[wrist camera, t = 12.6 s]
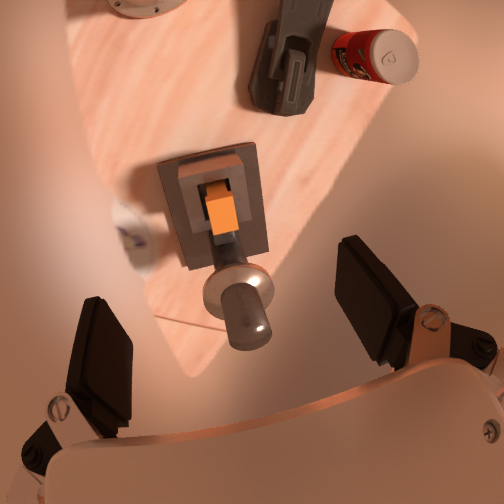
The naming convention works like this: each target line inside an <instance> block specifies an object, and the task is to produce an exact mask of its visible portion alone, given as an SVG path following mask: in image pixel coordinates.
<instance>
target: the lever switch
mask: <svg viewBox="0 0 504 504" xmlns="http://www.w3.org/2000/svg"><path fill="white" fill-rule="evenodd" d="M157 167H158V170H159V174H160V178H161V181H162V185H163V188H164V192H165V195H166V199H167V202H168V205H169V209H170V212H171V215H172V219H173V222H174V225H175V228H176V231H177V235H178V238H179V241H180V244H181V247H182V250H183V253H184V256H185V259H186V262H187V265H188V268H189V271H190V270H194V269H198V268H202V267H207V266H211V265H214V269H215V272H214V273H212V274H211V275H210V276H209V278H208V279H207V280H206V282H205V284H204V287H203V301H204V305H205V307H206V309H207V311H208V312H209V313H210V314H211V315H213V316H214V317H216V318H218V319H221V320H225V325H226V329H227V334H228V339H229V343H230V345H231V346H232V347H233V348H234V349H237V350H240V351H250V350H255V349H258V348H260V347H262V346H264V345H265V344H266V343H267V342H269V340H270V339H271V337H272V330H271V328H270V325H269V322H268V319H267V316H266V313H265V309H266V308H267V307H268V305H269V304H270V303H271V301H272V299H273V296H274V285H273V282H272V280H271V277H270V275H269V274H268V272H267V271H266V270H265V269H263V268H262V267H260V266H258V265H256V264H252V263H248V261H247V258H246V257H249V256H253V255H257V254H261V253H265V252H269V248H268V239H267V231H266V222H265V214H264V206H263V197H262V189H261V181H260V174H259V166H258V158H257V150H256V144H255V143H254V142H251V143H246V144H240V145H235V146H230V147H225V148H220V149H215V150H211V151H206V152H202V153H197V154H193V155H189V156H185V157H180V158H176V159H173V160H169V161H165V162H161V163H158V165H157ZM221 179H223V180H224V183H225V185H226V188H227V191H231V192H232V195H233V200H234V205H235V211H236V216H237V222H238V227H239V230H235V231H230V232H226V233H222V234H217V235H214V234H213V230H212V226H211V222H210V218H209V213H208V209H207V205H206V200H205V197H206V196H207V191H206V186H205V183H207V182H212V181H216V180H221Z"/></svg>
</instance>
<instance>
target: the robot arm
mask: <svg viewBox="0 0 504 504" xmlns="http://www.w3.org/2000/svg"><path fill="white" fill-rule="evenodd" d="M107 1H108V2H109V4H110V5H111V6H112V7H113V8H114V9H115V10H116V11H117V12H119V13H121V14H123V15H125V16H129V17H133V18H151V17H156V16H160V15H163V14H166V13H169V12H171V11H172V10H174V9H176V8H178V7H179V6H181V5H182V4H184V3H185V2H186V1H187V0H107ZM118 4H121V5H120V6H117V5H118ZM155 10H159V11H158V12H157V13H156V12H155ZM335 296H336V299H337V301H338V303H339V304H340V306H341V307H342V309H343V311H344V313H345V314H346V316H347V318H348V319H349V321H350V323H351V325H352V326H353V328H354V330H355V331H356V333H357V335H358V337H359V338H360V340H361V342H362V344H363V346H364V347H365V349H366V351H367V352H368V354H369V356H370V358H371V359H372V360H373V361H377V363H378V365H379V366H381V365H384V364H386V363H388V362H389V364H390V366H391V367H392V372H391V373H390V374H387V375H385V376H383V377H380V378H378V379H375V380H373V381H370V382H368V383H365V384H363V385H360V386H358V387H355V388H352V389H350V390H347V391H345V392H342V393H339V394H336V395H334V396H331V397H328V398H325V399H322V400H319V401H316V402H313V403H310V404H306V405H303V406H300V407H297V408H294V409H290V410H287V411H283V412H279V413H275V414H272V415H268V416H264V417H260V418H256V419H251V420H247V421H242V422H238V423H233V424H228V425H223V426H218V427H212V428H206V429H201V430H194V431H187V432H179V433H171V434H163V435H152V436H140V437H127V438H121V437H120V436H119V434H118V428H120V427H129V422H128V420H131V415H132V409H131V408H132V400H131V399H132V361H133V344H132V341H131V339H130V338H129V336H128V335H127V333H126V332H125V330H124V329H123V327H122V326H121V324H120V323H119V321H118V320H117V318H116V317H115V315H114V313H113V312H112V310H111V309H110V307H109V306H108V304H107V302H106V301H105V300H104V299H101V298H100V297H99V296H96V297H92V298H87V299H85V301H84V304H83V308H82V311H81V315H80V319H79V323H78V327H77V331H76V336H75V340H74V344H73V349H72V354H71V359H70V364H69V369H68V375H67V381H66V389H65V392H58V393H55V394H53V395H52V396H51V397H50V398H49V399H48V401H47V403H46V405H45V417H46V421H45V422H44V423H43V424H42V425H41V426H40V428H38V429H37V431H36V432H35V433H34V434H33V435H32V436H31V437H30V438H29V439H28V440H27V441H26V442H25V444H24V446H23V448H22V453H21V457H22V461H23V465H21V464H20V465H19V467H18V469H17V472H16V474H15V476H14V479H13V481H12V483H11V486H10V488H9V491H8V494H7V502H8V504H504V348H502V347H501V348H500V349H498V348H497V344H496V342H495V340H494V338H493V337H492V336H491V335H490V334H488V333H486V332H484V331H480V330H477V329H473V328H470V327H466V326H462V325H459V324H455V323H452V322H451V321H450V317H449V315H448V313H447V312H446V311H445V310H444V309H443V308H441V307H440V306H438V305H435V304H425V305H423V306H421V307H419V306H418V305H417V303H416V302H415V301H414V300H413V298H412V297H411V296H410V294H409V293H408V292H407V291H406V289H405V288H404V287H403V286H402V285H401V283H400V282H399V281H398V280H397V278H396V277H395V276H394V275H393V274H392V272H391V271H390V270H389V269H388V268H387V267H386V266H385V264H383V263H382V262H381V261H380V260H379V259H378V258H377V257H376V256H375V254H374V253H373V252H372V251H371V250H370V249H369V248H368V246H367V245H366V244H365V243H364V242H363V241H362V240H361V239H360V237H358V236H357V235H353V236H349V237H345V238H343V239H342V242H340V243H339V244H338V256H337V270H336V281H335Z"/></svg>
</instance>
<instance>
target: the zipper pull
mask: <svg viewBox="0 0 504 504" xmlns="http://www.w3.org/2000/svg"><path fill="white" fill-rule="evenodd" d="M333 1H334V0H280V7H279V15H278V19H277V20H273V21H271V22H269V23H267V24H266V27H265V30H264V34H263V37H262V41H261V44H260V48H259V51H258V55H257V58H256V62H255V65H254V69H253V72H252V76H251V79H250V82H249V86H248V89H249V93H250V96H251V100H252V104H253V105H254V106H256V107H258V108H260V109H262V110H264V111H266V112H268V113H270V114H272V115H278V116H285V117H287V116H293V115H299V114H304V113H305V111H306V110H307V108H308V107H309V105H310V104H311V102H312V101H313V99H314V88H315V71H316V56H317V52H318V48H319V44H320V41H321V38H322V35H323V32H324V29H325V25H326V22H327V19H328V16H329V13H330V10H331V7H332V4H333Z"/></svg>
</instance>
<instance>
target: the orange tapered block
mask: <svg viewBox="0 0 504 504" xmlns="http://www.w3.org/2000/svg"><path fill="white" fill-rule="evenodd" d="M205 186H206V191H207V196H206V197H205V200H206V205H207V209H208V213H209V218H210V222H211V226H212V230H213V234H214V235H217V234H222V233H226V232H230V231H235V230H239V227H238V222H237V216H236V211H235V205H234V200H233V195H232V192H231V191H227V188H226V185H225V183H224V180H223V179H221V180H216V181H212V182H207V183H205Z"/></svg>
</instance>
